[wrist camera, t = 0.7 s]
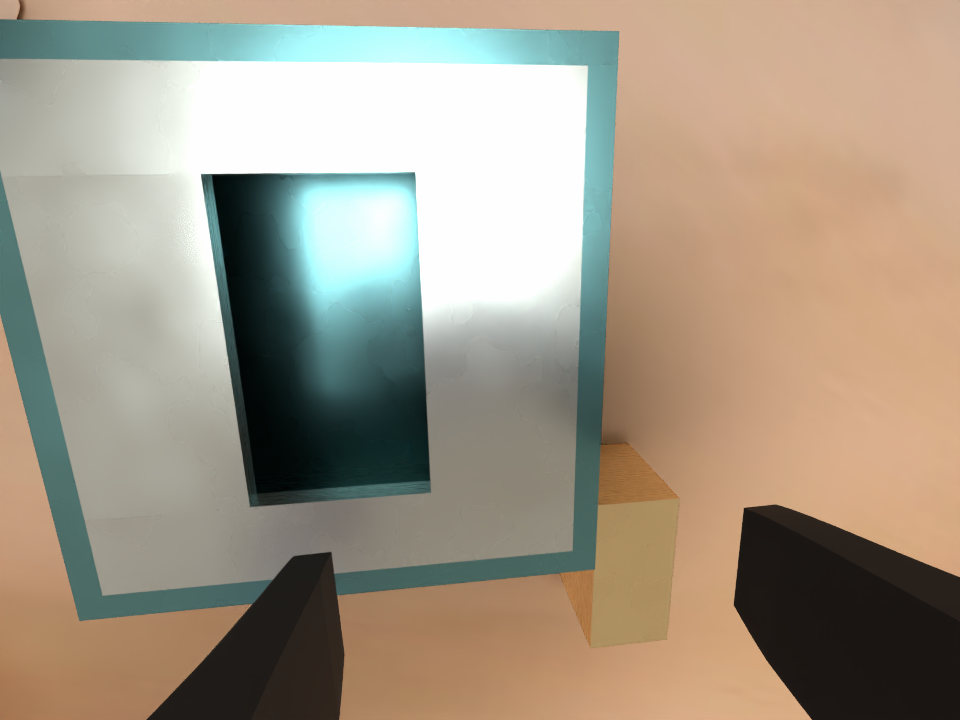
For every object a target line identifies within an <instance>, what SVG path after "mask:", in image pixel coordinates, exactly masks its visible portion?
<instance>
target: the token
mask: <svg viewBox="0 0 960 720" xmlns="http://www.w3.org/2000/svg"><path fill="white" fill-rule="evenodd" d="M678 509H679V497H678V496H677V495H676V494H675V493H674V492H673V491H672V490H671V489H670V488H669V487H668V486H667V485H666V483H665V482H664V481H663V480H662V479H661V478H660V477H659V476H658V475H657V474H656V473H655V472H654V471H653V470H652V469H651V467H650V466H649V465H648V464H647V463H646V462H645V461H644V460H643V459H642V458H641V457H640V456H639V455H638V454H637V452H636V451H635V450H634V449H633V448H632V447H631V446H630V445H629V444H628V443H623V444H610V445H601V450H600V472H599V495H598V517H597V539H596V562H595V570H586V571H576V572H566V573H559V574H560V576H561V579H562V581H563V583H564V586H565V588H566V591H567V593H568V595H569V598H570V600H571V603H572V605H573V607H574V610H575V612H576V615H577V617H578V620H579V622H580V624H581V627H582V629H583V632H584V634H585V636H586V639H587V641H588V644H589V646H590V648H598V647H607V646H615V645H624V644H633V643H641V642H650V641H658V640H667V632H668V621H669V610H670V599H671V587H672V576H673V565H674V554H675V543H676V532H677V520H678Z"/></svg>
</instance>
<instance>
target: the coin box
mask: <svg viewBox="0 0 960 720" xmlns="http://www.w3.org/2000/svg"><path fill="white" fill-rule="evenodd" d="M618 48H619V31H577V30H526V29H475V28H423V27H372V26H321V25H270V24H219V23H168V22H117V21H66V20H14V19H0V315H1V319H2V323H3V327H4V330H5V334H6V338H7V342H8V346H9V350H10V354H11V357H12V361H13V365H14V369H15V373H16V377H17V381H18V385H19V388H20V392H21V396H22V400H23V404H24V408H25V412H26V416H27V419H28V423H29V427H30V431H31V435H32V439H33V443H34V447H35V450H36V454H37V458H38V462H39V466H40V470H41V474H42V477H43V481H44V485H45V489H46V493H47V497H48V501H49V505H50V508H51V512H52V516H53V520H54V524H55V528H56V532H57V536H58V539H59V543H60V547H61V551H62V555H63V559H64V563H65V567H66V570H67V574H68V578H69V582H70V586H71V590H72V594H73V597H74V601H75V605H76V609H77V613H78V617H79V621H84V620H94V619H104V618H114V617H124V616H134V615H144V614H154V613H164V612H174V611H184V610H194V609H204V608H214V607H224V606H234V605H244V604H253V603H254V602H255V601H256V599H257V598H258V597H259V596H260V595H261V593H262V592H263V591H264V590H265V589H266V587H267V586H268V585H269V584H270V582H271V581H272V580H273V579H274V578H275V576H276V575H277V574H278V573H279V572H280V570H281V569H282V568H283V567H284V566H285V565H286V563H287V562H288V561H289V560H290V559H291V558H292V557H293V556H297V555H307V554H316V553H325V552H332V560H333V568H334V576H335V584H336V592H337V595H345V594H355V593H365V592H375V591H385V590H395V589H405V588H415V587H425V586H435V585H445V584H455V583H465V582H475V581H485V580H495V579H506V578H516V577H526V576H536V575H546V574H556V573H566V572H576V571H586V570H595V562H596V539H597V517H598V495H599V472H600V450H601V428H602V405H603V383H604V361H605V338H606V316H607V294H608V271H609V249H610V227H611V204H612V182H613V160H614V137H615V115H616V93H617V71H618Z"/></svg>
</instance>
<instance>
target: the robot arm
mask: <svg viewBox="0 0 960 720" xmlns="http://www.w3.org/2000/svg"><path fill="white" fill-rule="evenodd" d="M734 606H735V608H736V610H737V612H738V613H739V615H740V617H741V619H742V620H743V622H744V624H745V626H746V627H747V629H748V631H749V633H750V634H751V636H752V638H753V639H754V641H755V642H756V644H757V646H758V647H759V649H760V650H761V652H762V654H763V655H764V657H765V658H766V660H767V661H768V663H769V664H770V665H771V667H772V668H773V669H774V671H775V672H776V673H777V675H778V676H779V677H780V679H781V680H782V681H783V683H784V684H785V685H786V687H787V688H788V689H789V690H790V692H791V693H792V694H793V696H794V697H795V698H796V700H797V701H798V702H799V704H800V705H801V706H802V707H803V709H804V710H805V711H806V713H807V714H808V715H809V716H810V718H811V719H812V720H960V577H958V576H955V575H953V574H950V573H948V572H945V571H942V570H940V569H937V568H935V567H932V566H930V565H927V564H925V563H923V562H920V561H918V560H915V559H913V558H910V557H908V556H905V555H903V554H901V553H898V552H896V551H893V550H891V549H888V548H886V547H884V546H881V545H879V544H877V543H874V542H872V541H869V540H867V539H865V538H862V537H860V536H857V535H855V534H852V533H850V532H848V531H845V530H843V529H840V528H838V527H836V526H833V525H831V524H828V523H826V522H823V521H821V520H818V519H816V518H813V517H811V516H808V515H805V514H803V513H800V512H797V511H794V510H791V509H789V508H785V507H782V506H779V505H767V506H758V507H748V508H744V513H743V522H742V532H741V541H740V551H739V560H738V570H737V579H736V589H735V598H734ZM343 667H344V647H343V639H342V631H341V623H340V615H339V607H338V599H337V592H336V584H335V576H334V568H333V560H332V552H325V553H316V554H307V555H297V556H293V557H292V558H291V559H290V560H289V561H288V562H287V563H286V565H285V566H284V567H283V568H282V569H281V570H280V572H279V573H278V574H277V575H276V576H275V578H274V579H273V580H272V581H271V582H270V584H269V585H268V586H267V587H266V589H265V590H264V591H263V592H262V593H261V595H260V596H259V597H258V598H257V599H256V601H255V602H254V603H253V604H252V605H251V607H250V608H249V609H248V610H247V611H246V612H245V614H244V615H243V616H242V617H241V618H240V619H239V621H238V622H237V623H236V624H235V625H234V626H233V627H232V629H231V630H230V631H229V632H228V633H227V634H226V635H225V637H224V638H223V639H222V640H221V641H220V642H219V643H218V645H217V646H216V647H215V648H214V649H213V650H212V651H211V653H210V654H209V655H208V656H207V657H206V658H205V659H204V660H203V661H202V662H201V664H200V665H199V666H198V667H197V668H196V669H195V670H194V671H193V672H192V673H191V674H190V675H189V676H188V677H187V678H186V679H185V680H184V681H183V682H182V683H181V684H180V686H179V687H178V688H177V689H176V690H175V691H174V692H173V693H172V694H171V695H170V696H169V697H168V698H167V699H166V700H165V701H164V702H163V703H162V704H161V705H160V706H159V707H158V709H157V710H156V711H155V712H154V713H153V714H152V715H151V716H150V717H149V718H148V719H147V720H339V716H340V705H341V693H342V680H343Z"/></svg>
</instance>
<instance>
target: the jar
mask: <svg viewBox="0 0 960 720" xmlns="http://www.w3.org/2000/svg"><path fill="white" fill-rule="evenodd" d="M19 11H20V3H19V1H18V0H0V19H14V20H17V17H18V14H19Z"/></svg>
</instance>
